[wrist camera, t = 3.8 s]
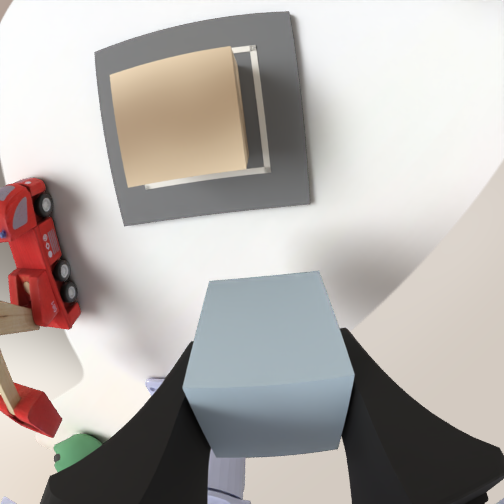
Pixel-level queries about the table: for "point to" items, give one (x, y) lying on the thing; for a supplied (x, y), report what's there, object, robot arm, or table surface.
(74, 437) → the alien toy
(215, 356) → the bluegrey block
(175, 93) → the beech block
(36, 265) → the toy fire truck
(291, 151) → the grey square pad
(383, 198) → the table surface
